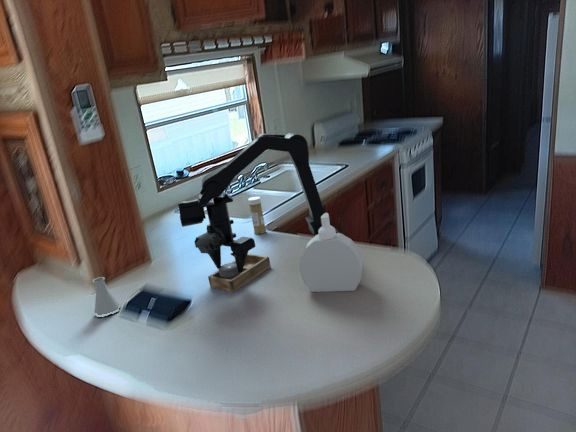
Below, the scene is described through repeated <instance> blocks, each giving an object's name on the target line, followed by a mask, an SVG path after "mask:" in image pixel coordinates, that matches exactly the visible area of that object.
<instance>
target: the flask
mask: <svg viewBox="0 0 576 432" xmlns="http://www.w3.org/2000/svg"><path fill="white" fill-rule="evenodd" d="M105 280H106V278H105V277H104V276H99V277H97V278H93V280H91V281H92V283H93V285H94V287H95V302H94V303H95V306H94V312H95V313H97V314H98V315H102V314H107V313H110V312H113V311H115V310H117V309H118V307H119V304H120V303H119V302H118V301H117V299H116V297H114V295H113V294H112V293H111V292H110V290H109V288H108V287H107V285H106V282H105Z"/></svg>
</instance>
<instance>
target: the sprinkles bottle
mask: <svg viewBox="0 0 576 432" xmlns="http://www.w3.org/2000/svg"><path fill="white" fill-rule="evenodd" d="M247 200H248V202H247V203H248V205H249V210H250V216H251V221H252V225H253V233H254V234H255V235H262V234H265V233H266V231H267V229H266V225H265V218H264V213H263V208H262V198H261V197H260V196H253V197H252V196H251V197H249V198H248V199H247Z"/></svg>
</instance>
